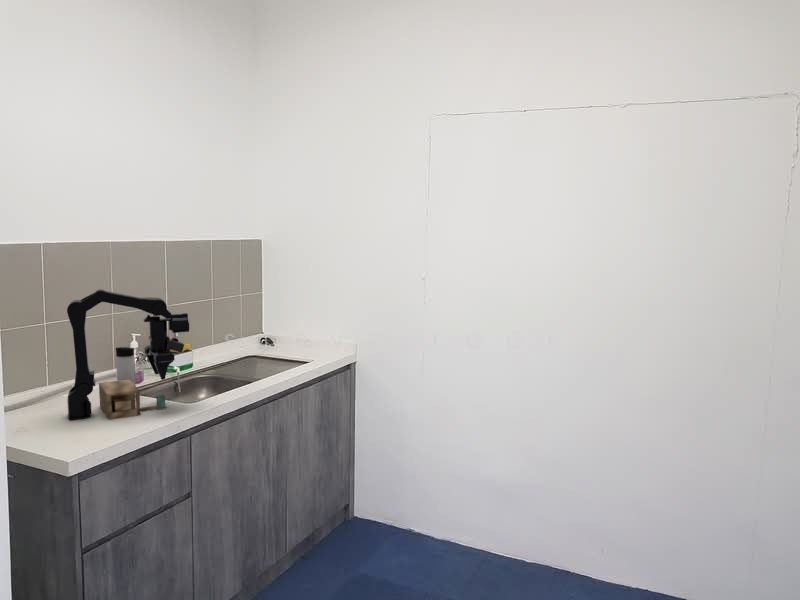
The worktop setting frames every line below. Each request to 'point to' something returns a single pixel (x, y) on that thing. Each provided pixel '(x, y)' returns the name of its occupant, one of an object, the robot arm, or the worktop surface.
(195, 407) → the worktop surface
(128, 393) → the brown wooden box
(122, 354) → the travel mug
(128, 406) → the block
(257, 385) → the worktop surface
